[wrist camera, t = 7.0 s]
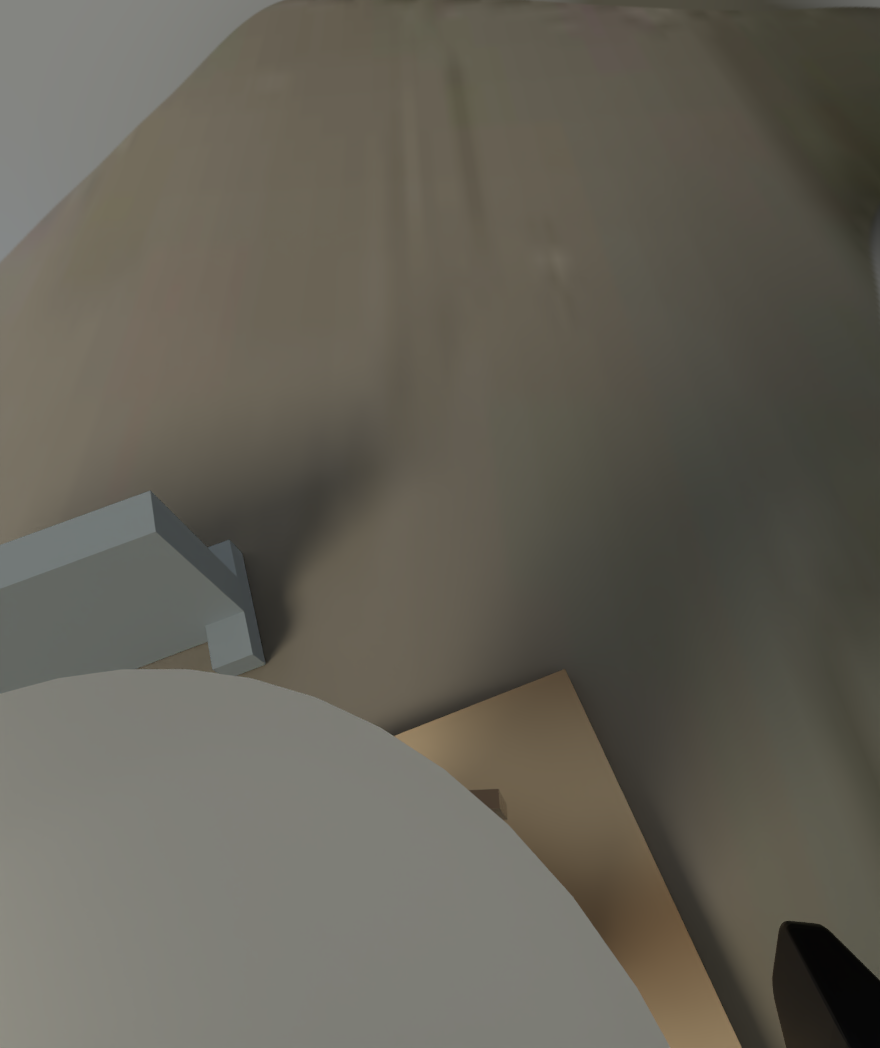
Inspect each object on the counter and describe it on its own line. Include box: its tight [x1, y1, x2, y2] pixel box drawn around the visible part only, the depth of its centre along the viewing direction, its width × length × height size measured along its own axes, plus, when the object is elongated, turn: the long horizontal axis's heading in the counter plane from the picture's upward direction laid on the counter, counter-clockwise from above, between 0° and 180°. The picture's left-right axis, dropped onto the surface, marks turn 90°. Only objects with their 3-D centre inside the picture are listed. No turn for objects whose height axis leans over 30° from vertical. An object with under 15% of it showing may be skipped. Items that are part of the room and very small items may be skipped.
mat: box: [394, 669, 742, 1048], centre depth 15 cm, size 10×10×1 cm
